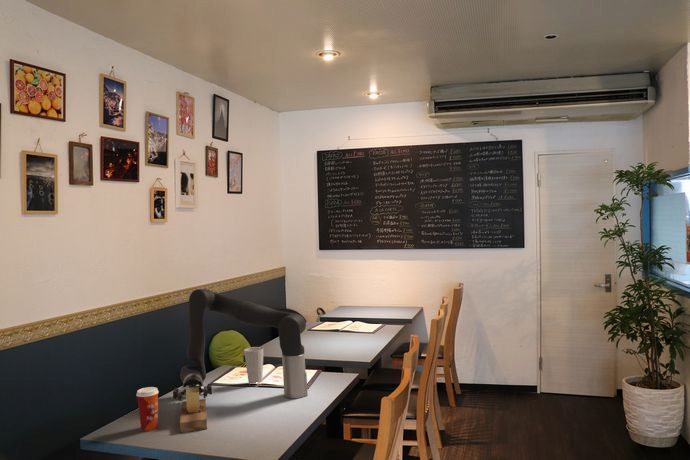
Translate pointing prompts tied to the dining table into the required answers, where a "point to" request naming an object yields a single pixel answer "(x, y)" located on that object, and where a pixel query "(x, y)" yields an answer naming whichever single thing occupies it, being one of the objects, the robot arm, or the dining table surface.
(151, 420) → the paper cup
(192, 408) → the tan boxy piece
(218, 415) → the dining table surface
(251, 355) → the cup
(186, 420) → the brown flat wooden block
